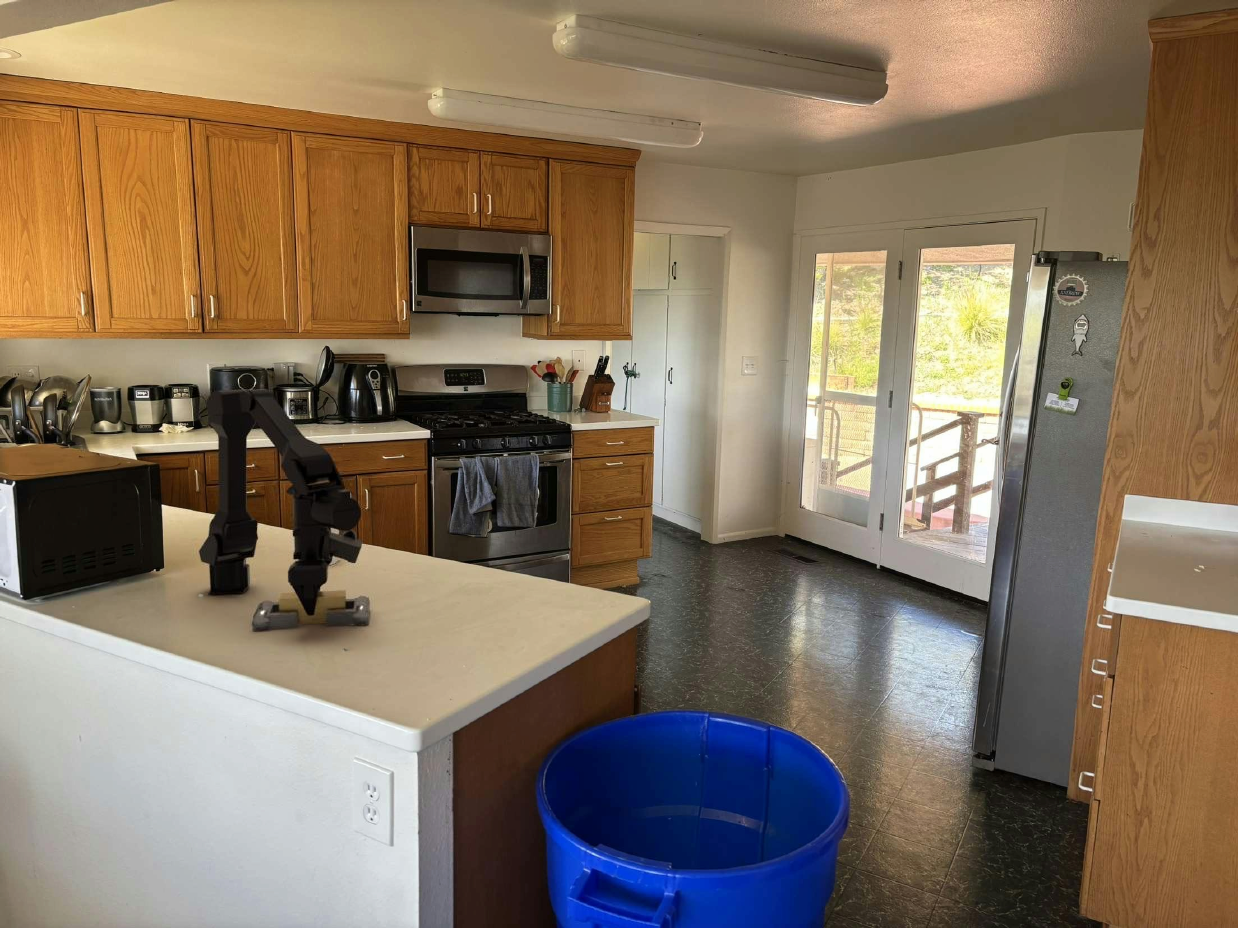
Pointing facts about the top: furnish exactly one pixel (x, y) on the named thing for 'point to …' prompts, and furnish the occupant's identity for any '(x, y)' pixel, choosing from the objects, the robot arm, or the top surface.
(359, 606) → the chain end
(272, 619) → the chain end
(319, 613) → the gold ingot
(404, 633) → the top surface
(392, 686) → the top surface
